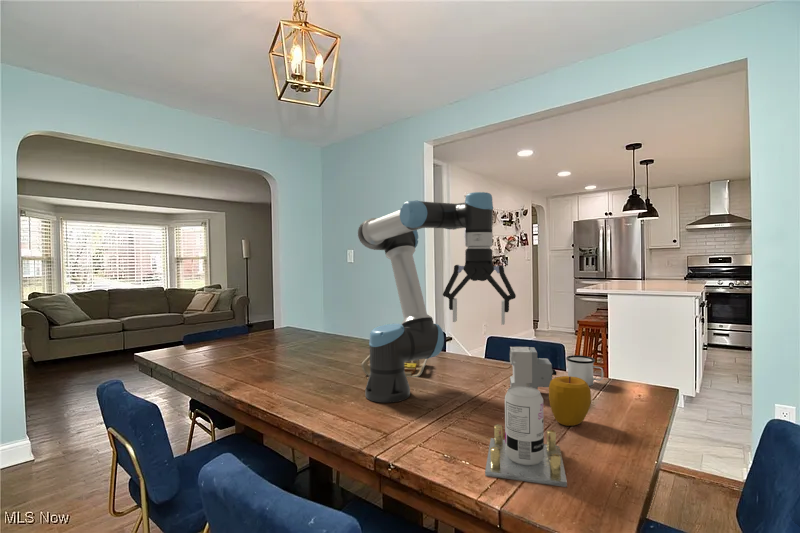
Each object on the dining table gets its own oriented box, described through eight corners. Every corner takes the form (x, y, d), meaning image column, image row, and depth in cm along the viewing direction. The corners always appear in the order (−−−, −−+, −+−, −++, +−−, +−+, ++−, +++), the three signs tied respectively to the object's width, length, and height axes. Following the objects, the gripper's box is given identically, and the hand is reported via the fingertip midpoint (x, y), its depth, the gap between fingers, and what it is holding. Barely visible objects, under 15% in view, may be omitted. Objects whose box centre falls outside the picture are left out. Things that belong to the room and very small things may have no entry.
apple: (588, 435, 102) (588, 385, 102) (544, 426, 108) (544, 379, 107) (593, 420, 111) (593, 374, 111) (553, 412, 117) (552, 369, 117)
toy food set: (361, 376, 158) (360, 357, 158) (371, 364, 176) (371, 347, 176) (424, 378, 154) (424, 358, 154) (428, 365, 172) (428, 348, 172)
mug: (563, 384, 143) (563, 359, 143) (569, 377, 150) (569, 354, 150) (600, 390, 136) (600, 364, 136) (604, 383, 144) (604, 358, 143)
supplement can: (500, 450, 93) (499, 386, 92) (534, 448, 93) (533, 384, 93) (513, 468, 85) (512, 398, 84) (550, 465, 85) (549, 396, 85)
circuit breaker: (557, 399, 128) (557, 352, 128) (511, 396, 131) (511, 351, 131) (553, 391, 135) (553, 347, 135) (510, 389, 138) (509, 346, 138)
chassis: (485, 475, 84) (484, 452, 84) (490, 441, 99) (490, 422, 99) (567, 487, 79) (566, 462, 79) (559, 449, 94) (559, 429, 94)
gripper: (432, 248, 113) (432, 322, 113) (524, 247, 105) (524, 327, 106) (438, 248, 120) (438, 318, 121) (525, 247, 112) (524, 322, 113)
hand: (478, 322), depth 113 cm, fingers open, 13 cm apart
